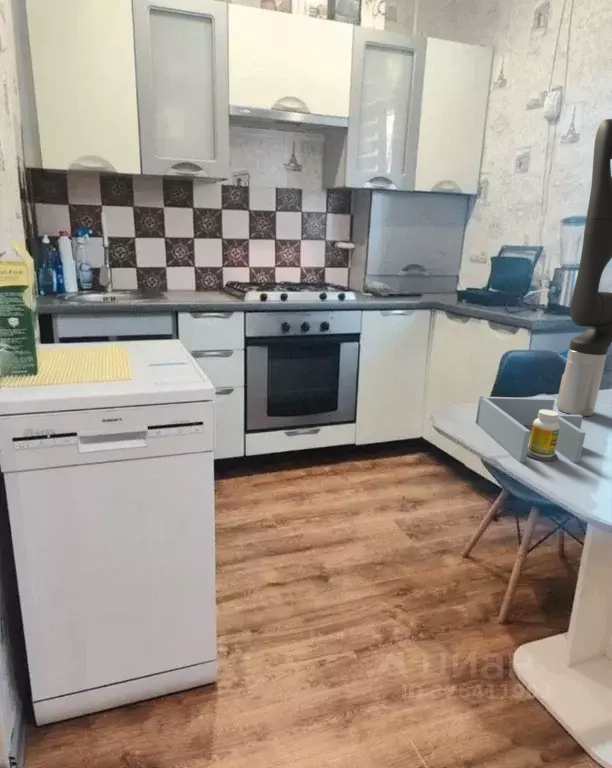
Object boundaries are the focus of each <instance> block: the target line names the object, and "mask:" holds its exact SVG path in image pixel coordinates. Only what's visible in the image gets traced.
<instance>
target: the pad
mask: <svg viewBox="0 0 612 768" xmlns="http://www.w3.org/2000/svg"><path fill="white" fill-rule="evenodd" d="M528 448H529V446H528ZM526 457H527V458H530V459H533V460H535V461H540V462H548V463H549V462H551V463H552V462H556V461H557V460H558V454H556V452H555V453H554V456H552V457H549V458H544V457H538V456H535V455H533V454H531V453H530V452H529V450H528V449H527V455H526Z"/></svg>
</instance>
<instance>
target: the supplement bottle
mask: <svg viewBox="0 0 612 768" xmlns="http://www.w3.org/2000/svg"><path fill="white" fill-rule="evenodd" d="M558 417H559V412H557V411H556V410H553V411H552V410H545V409H542V410H539V413H538V418H537V419H535V420H534V422H533V426H532V427H531V433H530V439H529V444H528V447H529V448H528V450H529V452H530V453H531V454H533V455H535V456H538V457H544V458H549V457H552V456H554V453H555V454H556V449H555V448H556V443H557V438H558V434H559V429H560V425H559V423H558V422H556V421H557V420H558Z"/></svg>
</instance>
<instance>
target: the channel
mask: <svg viewBox="0 0 612 768" xmlns="http://www.w3.org/2000/svg"><path fill="white" fill-rule="evenodd" d="M554 407H555V399H554V398H546V397H544V398H543V397H513V396H512V397H511V396H509V397H507V396H505V397H504V396H479V399H478V405H477V413H476V418H475V424H476V425H478V426H479V427H480V428H481V429H482V430H483V431H484V432H485V433H487V434H488V435H489V436H490V437H491V439H493V440H494V441H496V442H497V443H498V444H499V445H500V446H501V447H502V448H503V449H505V451H507V452H508V453H509V454H510V455H511V456H512V457H513V458H515V459H516V460H517V462H519V463H526V459H527V456H526V455H527V449H528V447H529V443H530V437H531V432H532V430H530V429H528V428H527V426H530V427H531V426H532V427H533V422H534V420H535V419H537V418H538V413H539V410H542V409H545V410H552V411H554ZM558 414H559V413H558ZM583 418H584V416H581V415H573V414H567V413H565V414H561V413H560V414H559V417H558V420H557V421H556V422H558V423H559V425H560V429H559V434H558V438H557V443H556V448H555V451H558V452H559V454H561V455H562V456H564V457H565V458H566V459H568V460H569V461H571V462H572V463H573V464H580V460H581V455H582V451H583V446H584V442H585V438H586V431H584V430H582V429H581V428H582V425H583V420H584V419H583ZM525 426H526V427H525Z"/></svg>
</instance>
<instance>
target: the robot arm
mask: <svg viewBox="0 0 612 768" xmlns="http://www.w3.org/2000/svg"><path fill="white" fill-rule="evenodd" d="M593 147H594V148H593V157H592V158H593V159H592V161H593V162H592V171H591V173H592V176H591V185H590V186H591V187H590V194H589V200H588V207H587V212H586V218H585V224H584V231H583V241H582V242H583V243H582V248H581V249H582V250H581V255H580V261H579V265H578V266H579V267H578V271H577V276H576V279H575V285H574V287H573V288H574V289H573V293H572V296H571V301H570V306H569V307H570V308H569V309H570V310H569V311H570V313H569V314H570V315H569V317H570V319H571V321H572V323H573V324H574V325H576V326H579V327H587V329H586V330H585V331H584V332H583V333H581V334H580V335H577V336H575V337H573V338H571V340H570V343H569V346H568V347H569V348H568V352H567V353H568V354H567V356H566V357H567V358H566V364H565V368H564V373H563V374H562V375H561V381H560V386H559V391H558V395H557V401H556V406H557V409H558V410H559V411H561V412H563V413H565V414H568V415H581V416H583V417H590V416H593V415H594V412H595V408H596V405H597V400H598V396H599V390H600V386H601V381H602V379H603V378H602V377H603V373H604V370H605V369H604V368H605V363H606V358H607V356H608V355H607V354H608V350H609V348H610V347H611V345H612V292H610V291H599V289H600V282H601V277H602V275H603V272H604V270H605V268H606V267H607V265H608V264H609V262H610V261H611V260H612V170H611V167H612V166H611V161H612V118H607V119H604V120H602V121H601V122H600V124H599V126H598V127H597V131H596V134H595V139H594V144H593Z"/></svg>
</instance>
